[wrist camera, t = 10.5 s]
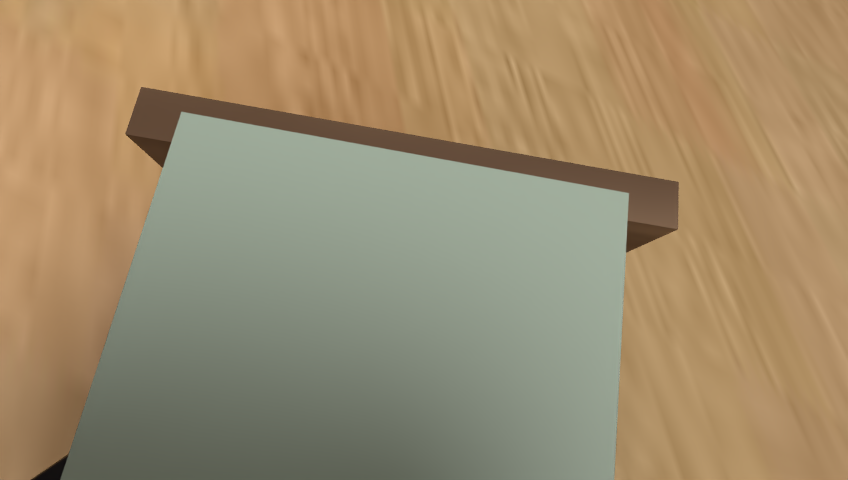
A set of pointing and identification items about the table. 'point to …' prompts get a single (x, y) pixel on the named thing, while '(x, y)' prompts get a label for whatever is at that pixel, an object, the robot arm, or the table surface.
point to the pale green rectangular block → (358, 320)
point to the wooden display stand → (647, 195)
